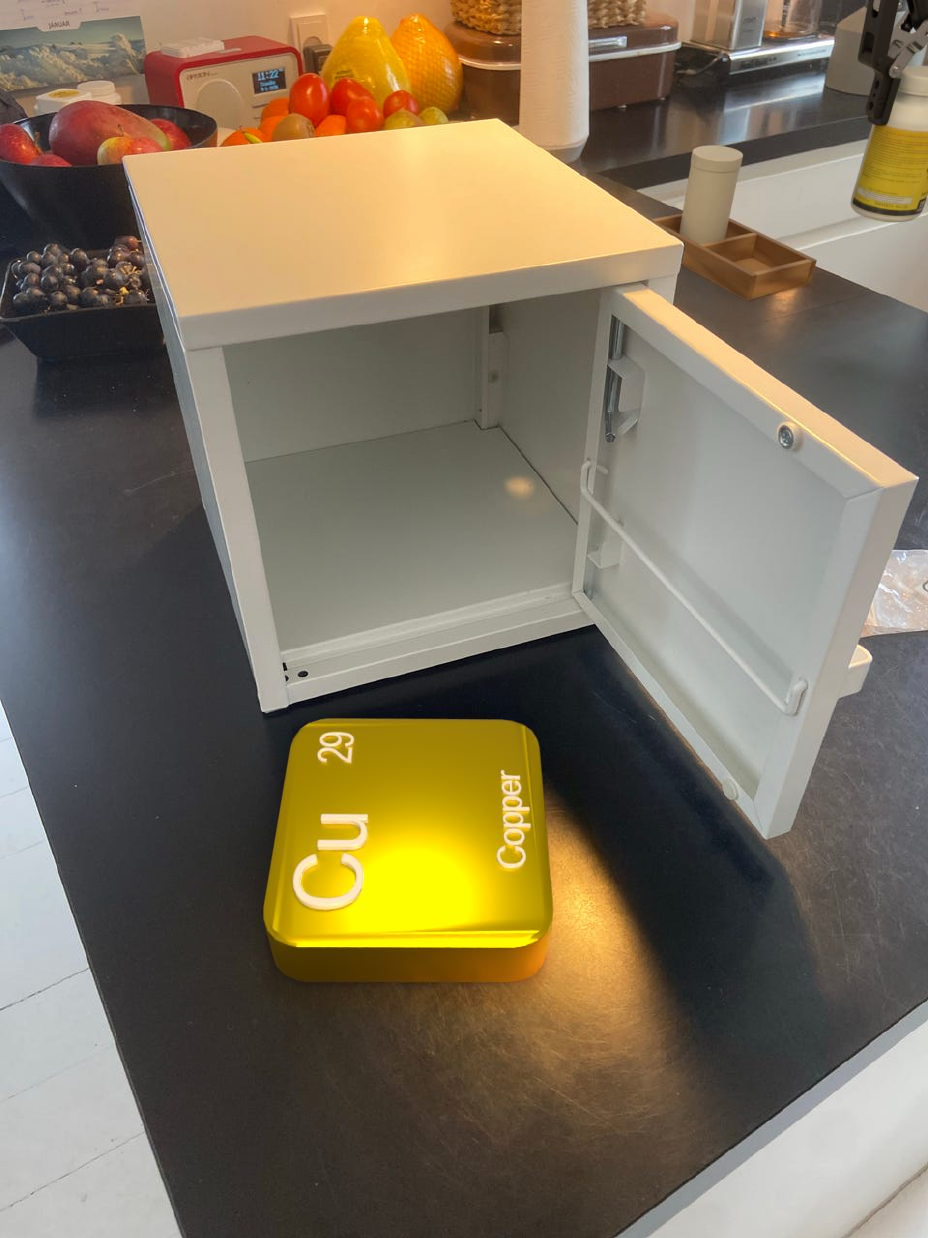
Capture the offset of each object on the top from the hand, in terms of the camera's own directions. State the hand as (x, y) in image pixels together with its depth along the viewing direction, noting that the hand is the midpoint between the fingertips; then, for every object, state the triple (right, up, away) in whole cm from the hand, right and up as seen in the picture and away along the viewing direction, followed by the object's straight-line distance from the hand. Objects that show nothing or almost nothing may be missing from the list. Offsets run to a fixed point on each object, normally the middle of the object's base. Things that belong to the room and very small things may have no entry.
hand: (913, 121), depth 81 cm
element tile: (-43, -58, -27) cm, 77 cm away
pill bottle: (0, -6, +5) cm, 8 cm away
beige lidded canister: (-8, +5, +42) cm, 43 cm away
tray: (-6, +2, +39) cm, 39 cm away
